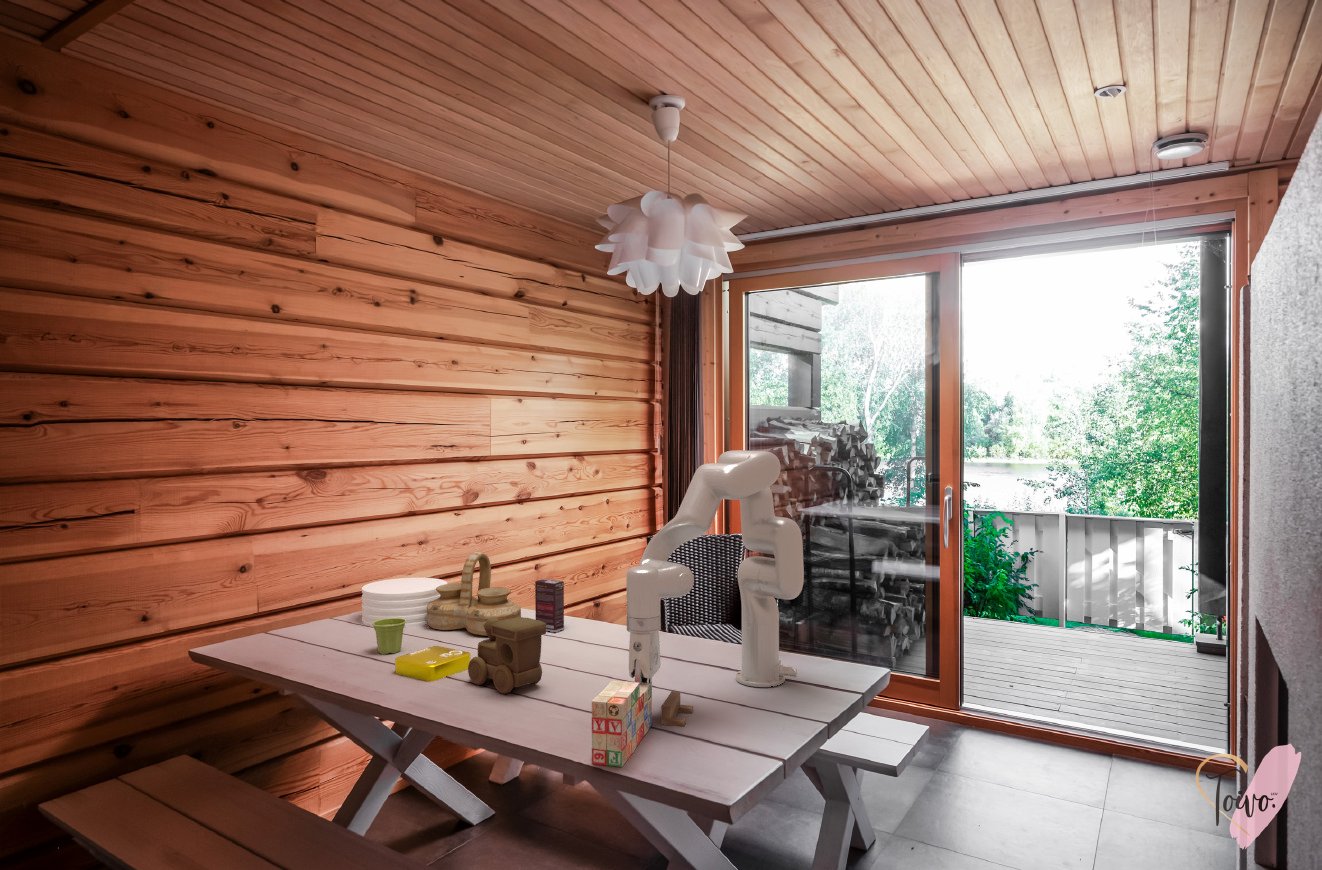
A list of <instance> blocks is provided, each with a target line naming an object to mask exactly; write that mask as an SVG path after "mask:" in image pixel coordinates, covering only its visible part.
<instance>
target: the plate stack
mask: <svg viewBox="0 0 1322 870" xmlns="http://www.w3.org/2000/svg"><path fill="white" fill-rule="evenodd" d="M445 584H448V581H446V580H444V579H440V578H436V577H435V578H433V577H401V578H400V577H399V578H392V579H391V578H390V579H383V580H379V581H373V582H370V583H367V584H364V585H363V586H362V587H361V593H362V595H361V601H362V602H361V608H362V609H361V616H362V617H361V623H362V624H363V625H365V626H368V627H372V628H374V626H373V625H372V623H373V622H375V621H378V620H382V619H389V618H401V619H405V620H406V623H405V626H404V628H414V627H421V626H425V624H427V625H428V617H427V606H428V605H429V604H430V603H431V602H432V601H434V600H435V599H438V598H439V597H440V594H439V593H438V592H437V591H436V588H437V587H438V586H440V585H445Z"/></svg>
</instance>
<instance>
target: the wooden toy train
mask: <svg viewBox="0 0 1322 870" xmlns="http://www.w3.org/2000/svg"><path fill="white" fill-rule="evenodd" d="M484 629H485V631H486V633H487V635H488V636H487V637H488V638H487V639H484V640H481V641H479V642H478V644H477V656H474V657H472V658H471V660H470V662H469V665H468V669H467V674H468V678H469V679H470V681H471V682H472V683H473V684H475V685H478V686H481V685H483V684H484V683H485V682H486V681H487V678H488V679H491V680H493V685H494V687H495V689H496V690H497V691H498V692H499V693H500V694H503V695H504V694H505V695H508V694H510V693H511V691H512V690H513V688H520V687H523V686H526V685H534V686H536V685H537V684H538V683H539V682H540V681H541V680H542V676H543V668H542V665H541V663H540V661H541V655H542V638H543V637H542V635H545V634H547V631H546V623H545V622H542V621H539V620H536V618H535V619H534V618H530V617H522V616H521V617H520V618H512V619H508V620H503V621H499V620H498V619H497V618H489V619H488V620H487V621H486V623H485V625H484Z"/></svg>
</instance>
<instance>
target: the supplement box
mask: <svg viewBox="0 0 1322 870" xmlns="http://www.w3.org/2000/svg"><path fill="white" fill-rule="evenodd" d="M564 582H565V581H564V580H556V579H547V578H542V579H541V578H540V579H538V580H535V583H534V585H535V587H534V590H535V591H534V592H535V593H534V597H535V604H534V605H535V620H539V621H542V622H545V623H546V632H548V631H550V632H549V633H554V632H556V633H559V632H561V631H560V630H562V631H564V630H565V592H564V591H565V589H564V588H565V583H564ZM558 631H559V632H558Z"/></svg>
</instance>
